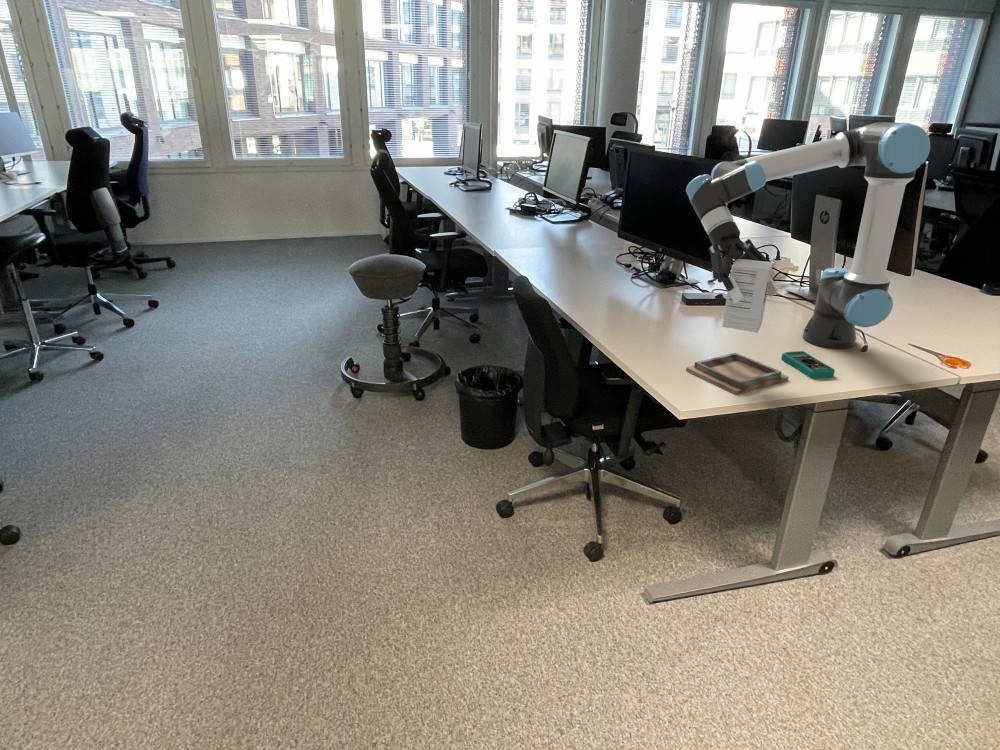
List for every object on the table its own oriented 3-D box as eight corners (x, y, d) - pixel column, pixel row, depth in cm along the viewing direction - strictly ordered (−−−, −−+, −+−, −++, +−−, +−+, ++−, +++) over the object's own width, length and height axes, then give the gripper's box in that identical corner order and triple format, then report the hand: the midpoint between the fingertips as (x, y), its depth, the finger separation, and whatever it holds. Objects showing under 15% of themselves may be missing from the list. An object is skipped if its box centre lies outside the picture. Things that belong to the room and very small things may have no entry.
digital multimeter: (811, 380, 173) (813, 370, 172) (779, 360, 186) (781, 351, 185) (835, 379, 174) (837, 369, 173) (802, 359, 188) (804, 349, 186)
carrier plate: (736, 358, 186) (737, 350, 185) (788, 380, 172) (789, 371, 171) (685, 370, 177) (686, 362, 176) (736, 394, 163) (737, 385, 162)
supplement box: (758, 333, 164) (769, 269, 157) (721, 327, 168) (731, 265, 161) (762, 322, 171) (773, 261, 165) (727, 317, 175) (736, 257, 169)
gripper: (743, 232, 178) (778, 298, 172) (678, 240, 167) (713, 310, 161) (762, 216, 172) (799, 283, 166) (695, 223, 161) (732, 296, 155)
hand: (757, 297), depth 164 cm, fingers closed on supplement box, 12 cm apart
